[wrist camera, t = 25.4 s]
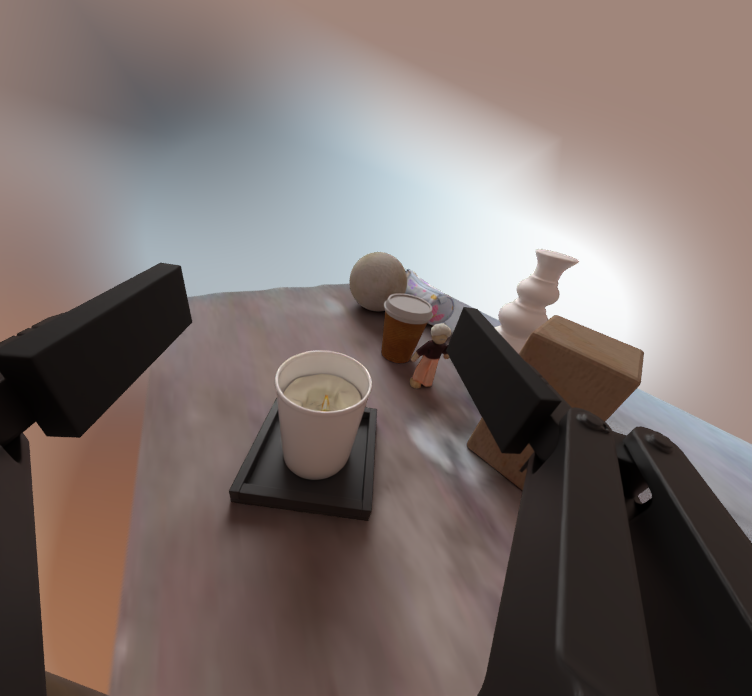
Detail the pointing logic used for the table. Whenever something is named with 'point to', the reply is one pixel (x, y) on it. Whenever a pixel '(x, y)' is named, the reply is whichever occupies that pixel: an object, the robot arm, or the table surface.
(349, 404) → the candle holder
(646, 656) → the robot arm
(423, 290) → the pencil case
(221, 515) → the table surface
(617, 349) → the wooden block
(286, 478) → the black tray
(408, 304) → the disposable coffee cup
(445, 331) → the grandmother figurine
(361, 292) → the decorative sphere
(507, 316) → the vase
